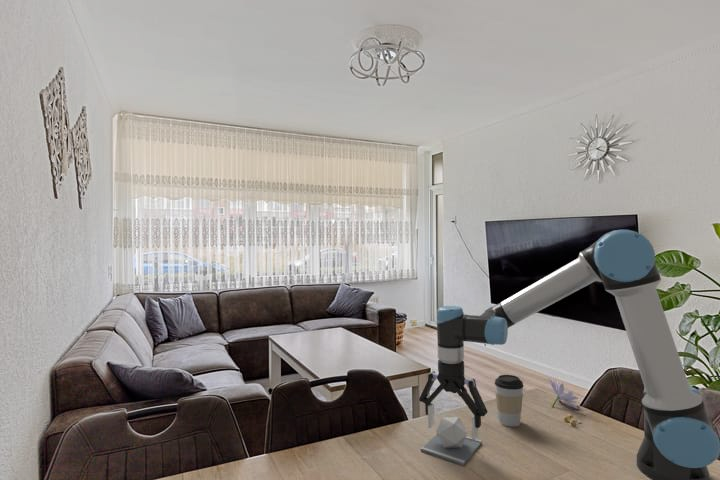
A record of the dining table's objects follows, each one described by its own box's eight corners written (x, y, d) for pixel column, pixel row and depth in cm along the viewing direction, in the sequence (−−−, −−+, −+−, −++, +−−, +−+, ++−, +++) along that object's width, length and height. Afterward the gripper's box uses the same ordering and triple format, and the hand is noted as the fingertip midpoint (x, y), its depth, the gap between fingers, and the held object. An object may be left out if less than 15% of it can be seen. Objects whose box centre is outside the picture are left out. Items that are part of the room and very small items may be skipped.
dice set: (572, 428, 134) (572, 422, 134) (559, 422, 139) (559, 416, 139) (584, 425, 136) (584, 419, 136) (570, 419, 140) (570, 413, 140)
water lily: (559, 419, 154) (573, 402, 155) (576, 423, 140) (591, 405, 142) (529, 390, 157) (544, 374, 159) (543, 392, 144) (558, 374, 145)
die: (461, 458, 116) (475, 426, 119) (433, 441, 118) (448, 409, 120) (454, 454, 124) (468, 424, 127) (428, 438, 125) (443, 408, 128)
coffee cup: (489, 419, 140) (488, 374, 140) (509, 413, 144) (508, 370, 144) (509, 430, 132) (508, 383, 132) (530, 424, 136) (529, 378, 136)
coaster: (481, 443, 124) (481, 440, 124) (463, 465, 113) (463, 462, 113) (441, 431, 132) (441, 429, 132) (420, 451, 120) (420, 448, 120)
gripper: (497, 363, 117) (499, 437, 118) (418, 350, 132) (420, 417, 132) (488, 370, 111) (490, 449, 112) (407, 356, 126) (408, 426, 126)
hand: (452, 432), depth 122 cm, fingers open, 13 cm apart
